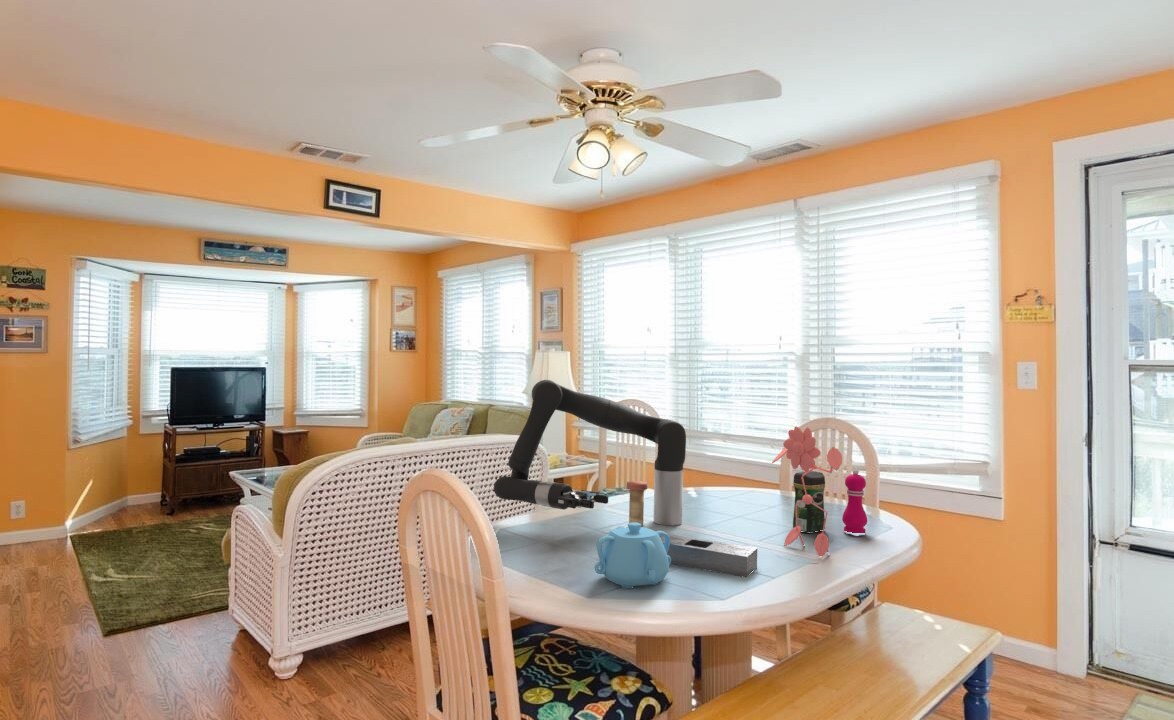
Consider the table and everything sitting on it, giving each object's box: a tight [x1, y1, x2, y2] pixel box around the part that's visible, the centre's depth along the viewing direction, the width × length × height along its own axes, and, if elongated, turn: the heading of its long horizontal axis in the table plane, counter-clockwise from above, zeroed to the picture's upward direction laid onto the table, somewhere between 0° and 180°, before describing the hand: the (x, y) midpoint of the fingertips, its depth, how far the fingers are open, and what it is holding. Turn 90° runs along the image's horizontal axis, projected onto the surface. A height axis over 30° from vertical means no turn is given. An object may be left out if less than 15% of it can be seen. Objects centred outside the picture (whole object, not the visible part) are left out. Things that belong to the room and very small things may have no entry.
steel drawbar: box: [659, 533, 758, 578], centre depth 170 cm, size 9×28×5 cm, turn 60°
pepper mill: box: [841, 468, 868, 534], centre depth 204 cm, size 7×7×20 cm
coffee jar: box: [792, 470, 826, 533], centre depth 207 cm, size 10×8×19 cm
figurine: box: [771, 426, 843, 557], centre depth 181 cm, size 15×26×35 cm, turn 27°
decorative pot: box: [594, 522, 671, 589], centre depth 155 cm, size 16×16×14 cm
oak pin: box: [626, 480, 648, 527], centre depth 184 cm, size 6×6×18 cm
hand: (600, 502), depth 189 cm, fingers open, 8 cm apart
